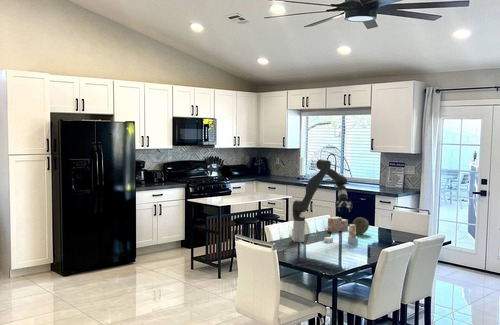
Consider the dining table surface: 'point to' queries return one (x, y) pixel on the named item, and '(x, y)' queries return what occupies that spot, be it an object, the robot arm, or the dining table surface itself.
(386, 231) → the dining table surface
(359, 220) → the cantaloupe
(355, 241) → the blue base block
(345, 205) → the robot arm
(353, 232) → the oak block
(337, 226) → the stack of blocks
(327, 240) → the cream block
